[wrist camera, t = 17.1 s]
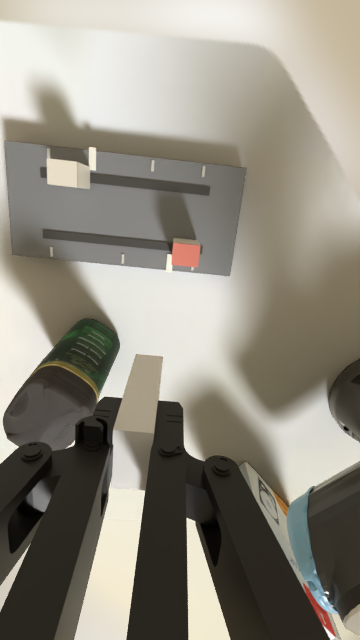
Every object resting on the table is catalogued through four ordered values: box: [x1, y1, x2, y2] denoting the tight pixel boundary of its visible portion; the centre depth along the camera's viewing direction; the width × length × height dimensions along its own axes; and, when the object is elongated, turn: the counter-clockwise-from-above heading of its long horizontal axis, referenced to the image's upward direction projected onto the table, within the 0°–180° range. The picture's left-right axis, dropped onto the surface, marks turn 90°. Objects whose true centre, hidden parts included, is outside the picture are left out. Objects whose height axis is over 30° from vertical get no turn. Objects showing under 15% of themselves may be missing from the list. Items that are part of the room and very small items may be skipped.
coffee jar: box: [3, 319, 120, 451], centre depth 41 cm, size 10×8×19 cm
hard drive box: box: [238, 462, 341, 640], centre depth 51 cm, size 16×8×20 cm, turn 38°
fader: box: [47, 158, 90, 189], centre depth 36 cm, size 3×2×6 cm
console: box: [5, 141, 246, 276], centre depth 42 cm, size 28×14×3 cm, turn 84°
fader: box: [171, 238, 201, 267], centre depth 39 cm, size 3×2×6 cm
